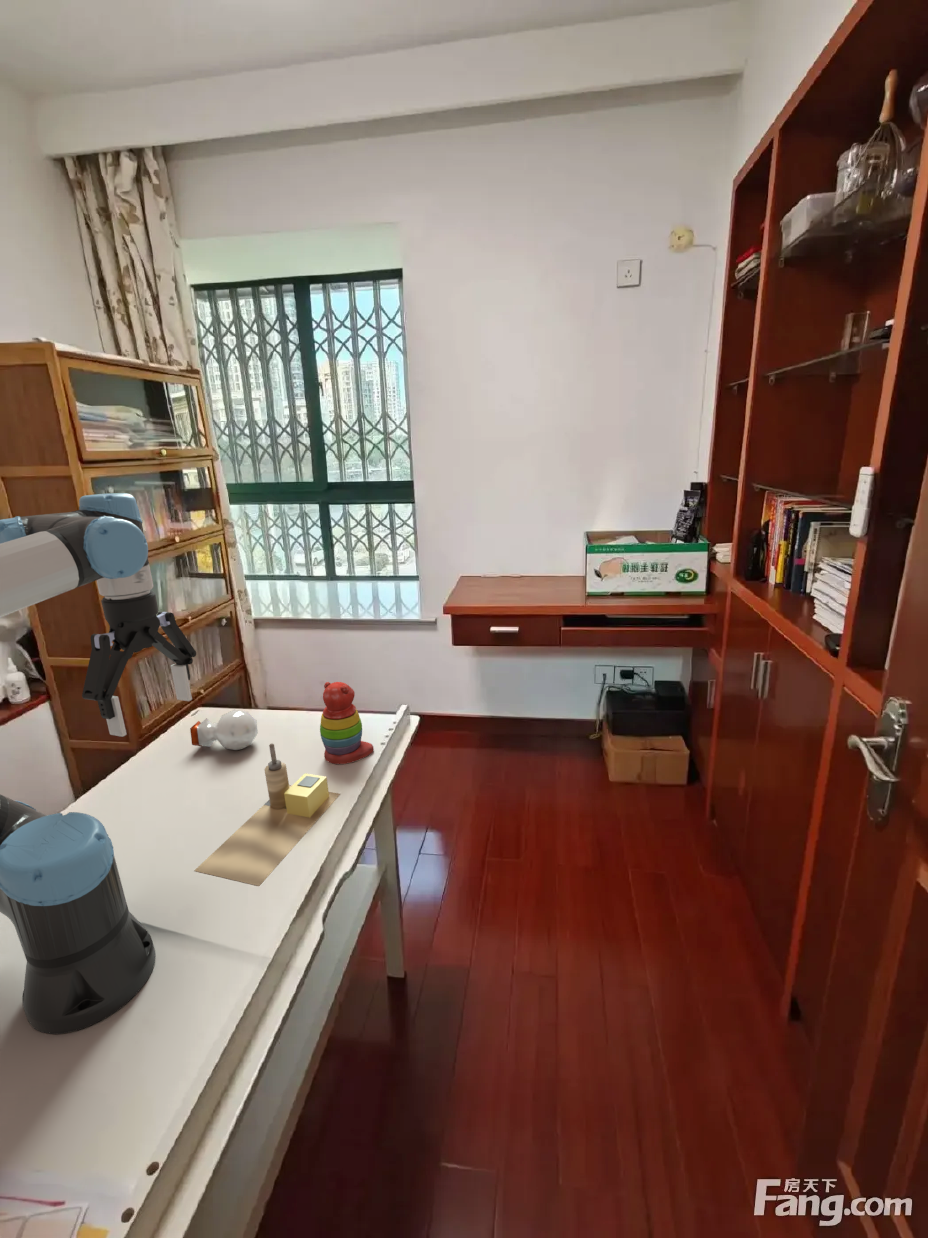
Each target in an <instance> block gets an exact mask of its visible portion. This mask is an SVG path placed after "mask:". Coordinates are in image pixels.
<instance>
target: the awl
mask: <svg viewBox="0 0 928 1238" xmlns="http://www.w3.org/2000/svg"><path fill="white" fill-rule="evenodd" d="M268 746H269V753H270V759H271V761H269V762H268V764H267V766H265V767H264V776H265V780H266V781H265V782H266V786H267V792H268V800H270V806H271V808H273V809H283V808H286V802H285V796H284V793H285V792H286V791H287V790H288V789H289V785H290V784H289V783H290V782H289V775H288V771H287V770H288V769H287V765H286V763H285V762H282V760H280V759H277V755H276V748H275V744H274V743H273V742H272V743H269V745H268Z"/></svg>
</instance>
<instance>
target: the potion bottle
mask: <svg viewBox="0 0 928 1238" xmlns="http://www.w3.org/2000/svg"><path fill="white" fill-rule="evenodd" d="M189 731H190V732H189V733H190V739H191V745H192V746H196V747H201V748H202V747H209V748H210V747H211V746H212V745H213V744H214V742H218V743H219V744H220V746H222V747H223V748H224V749H226V750H234V751H241V750H243V749H245V748H247V747H249V746H251V745H252V744H253V742H254V740H255V738H256V737H257V735H258V734H259V731H258V722H257V719H256V718H255V717H254V716H253V715H252V714H251V713H249V711H245V710H240V709H232V710H230V711H228V712H226V713H224V714H222V715H221V716H220V718H219V720H218V721H217V722H212V721H210V720H209V719H208V718H205V719H204V720H203V721H199V720H198V721H197V722H196V723H194V724H193V725H192V726H191V727H190V729H189Z"/></svg>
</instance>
